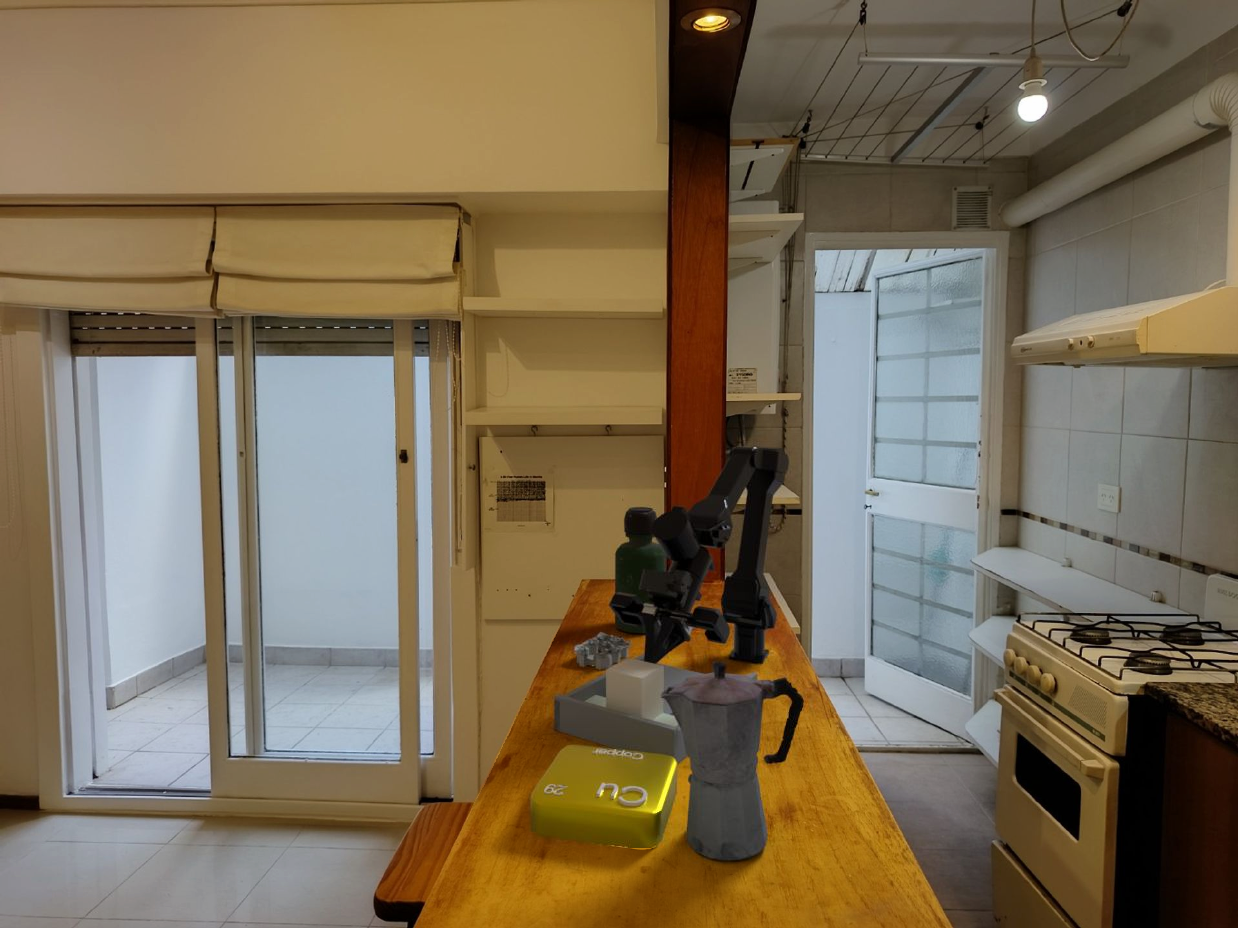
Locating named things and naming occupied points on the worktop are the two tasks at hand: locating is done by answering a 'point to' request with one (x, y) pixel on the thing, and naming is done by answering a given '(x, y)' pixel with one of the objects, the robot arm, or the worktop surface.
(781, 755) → the moka pot
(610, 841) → the element tile
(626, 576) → the green capped bottle
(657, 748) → the gray open tray
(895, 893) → the worktop surface
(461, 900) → the worktop surface
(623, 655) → the egg carton
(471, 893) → the worktop surface
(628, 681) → the cream block
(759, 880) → the worktop surface
